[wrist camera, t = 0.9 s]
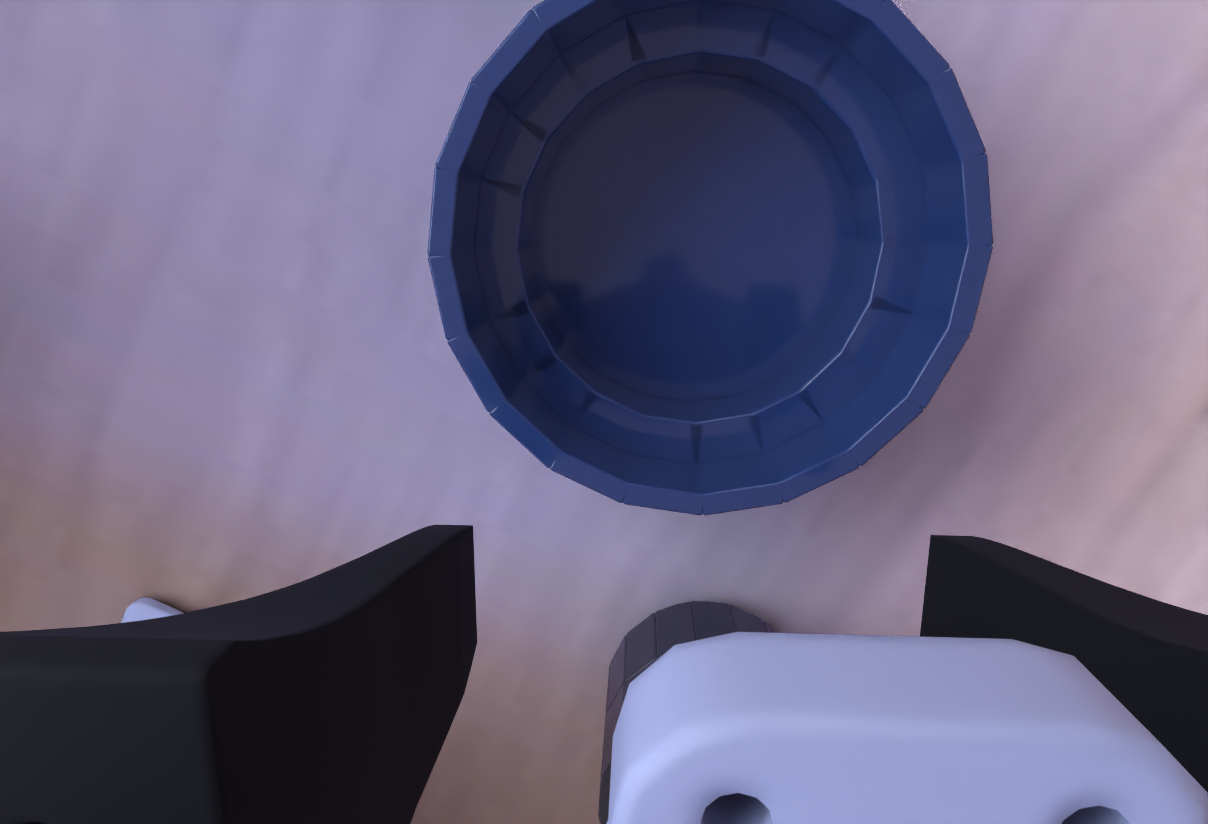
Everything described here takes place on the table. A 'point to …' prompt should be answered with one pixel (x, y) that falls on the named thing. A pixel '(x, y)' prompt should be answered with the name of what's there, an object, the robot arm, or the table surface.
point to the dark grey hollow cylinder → (653, 643)
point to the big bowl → (709, 241)
